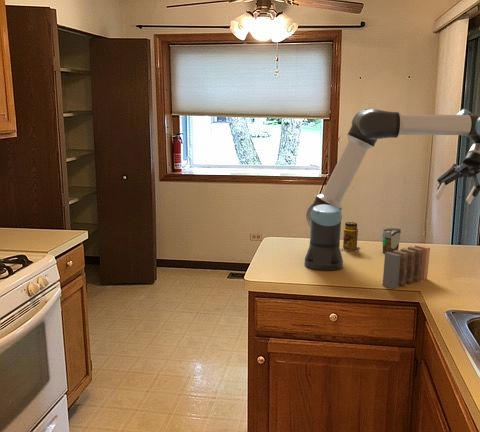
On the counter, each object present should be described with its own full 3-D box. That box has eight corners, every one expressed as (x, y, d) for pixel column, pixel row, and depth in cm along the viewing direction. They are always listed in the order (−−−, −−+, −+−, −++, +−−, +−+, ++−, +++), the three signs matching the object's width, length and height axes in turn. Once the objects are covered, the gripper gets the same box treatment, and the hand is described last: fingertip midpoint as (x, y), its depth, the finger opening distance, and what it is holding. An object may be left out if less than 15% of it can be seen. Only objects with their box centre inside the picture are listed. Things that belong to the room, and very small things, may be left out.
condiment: (340, 250, 235) (342, 223, 232) (344, 245, 243) (345, 220, 240) (357, 252, 232) (358, 225, 230) (360, 247, 240) (362, 221, 238)
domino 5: (424, 279, 196) (427, 248, 194) (412, 276, 200) (415, 245, 197) (427, 278, 197) (430, 247, 195) (415, 275, 201) (418, 244, 199)
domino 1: (394, 289, 185) (397, 255, 183) (382, 285, 189) (385, 252, 186) (397, 288, 186) (400, 255, 184) (385, 284, 190) (388, 251, 188)
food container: (385, 248, 240) (387, 226, 238) (399, 250, 236) (401, 228, 234) (375, 253, 230) (377, 231, 228) (389, 256, 226) (391, 233, 224)
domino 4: (416, 282, 193) (419, 250, 191) (405, 278, 197) (407, 247, 195) (420, 281, 195) (423, 249, 192) (408, 277, 198) (411, 246, 196)
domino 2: (402, 286, 188) (405, 253, 185) (390, 283, 192) (392, 250, 189) (405, 285, 189) (408, 253, 187) (393, 282, 193) (396, 250, 190)
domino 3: (409, 284, 190) (412, 252, 188) (397, 280, 194) (400, 248, 192) (412, 283, 192) (415, 251, 189) (401, 279, 196) (403, 248, 193)
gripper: (509, 166, 203) (485, 210, 197) (451, 161, 221) (427, 201, 215) (504, 153, 199) (479, 197, 192) (445, 149, 217) (420, 189, 211)
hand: (452, 199), depth 204 cm, fingers open, 12 cm apart
